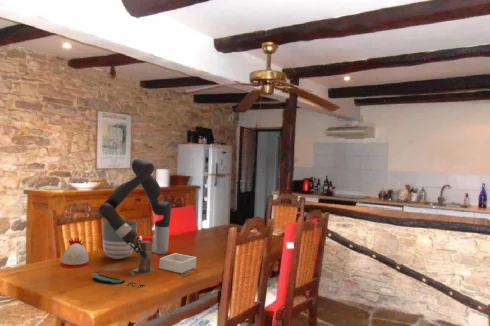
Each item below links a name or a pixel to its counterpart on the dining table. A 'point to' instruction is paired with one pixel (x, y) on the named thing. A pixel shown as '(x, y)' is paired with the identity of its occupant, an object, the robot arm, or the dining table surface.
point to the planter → (116, 241)
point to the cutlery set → (110, 279)
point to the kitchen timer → (75, 255)
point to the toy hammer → (146, 238)
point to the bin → (178, 263)
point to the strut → (146, 262)
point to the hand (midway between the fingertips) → (147, 255)
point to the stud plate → (144, 271)
